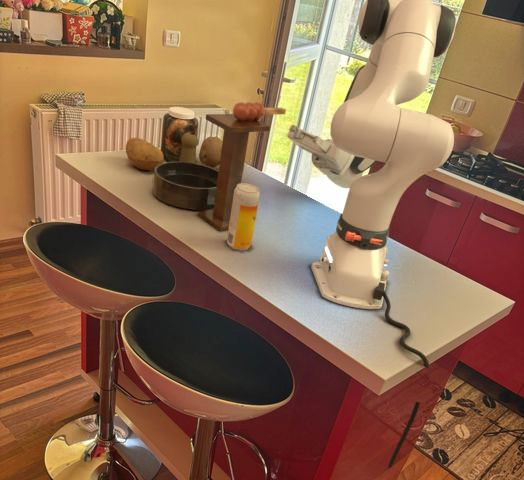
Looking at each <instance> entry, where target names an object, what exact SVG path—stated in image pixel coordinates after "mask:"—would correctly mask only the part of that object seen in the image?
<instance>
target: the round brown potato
mask: <svg viewBox="0 0 524 480" xmlns="http://www.w3.org/2000/svg"><path fill="white" fill-rule="evenodd" d="M222 142H223V139H221V138H220V137H218V136H208V137H206V138H204V140H203V141H202V143H201V146H200V149H199V152H198V160H199V161H200V163H202V165H205V166H208V167H211V168H214V169H215V168H216V167H219V165H220V157H221V150H222Z"/></svg>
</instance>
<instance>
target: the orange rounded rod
mask: <svg viewBox="0 0 524 480" xmlns="http://www.w3.org/2000/svg"><path fill="white" fill-rule="evenodd" d="M286 111H287V109H286V108H284V107H265V106H264V105H263V104H262V103H261V102H250V101H249V102H242V101H241V102H237V103H235V104H234V106H233V107H232V114H233V115H234V117H235V118H236V119H237V120H240V121H243V120H245V119H246V120H253V119H254V120H258V121H260V120H262V119H263V118H264V116H267V115H268V116H269V115H270V116H271V115H273V116H274V115H275V116H276V115H286Z"/></svg>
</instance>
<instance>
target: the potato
mask: <svg viewBox="0 0 524 480" xmlns="http://www.w3.org/2000/svg"><path fill="white" fill-rule="evenodd" d="M125 153H126V154H125V155H126V157H127V159H128V161H129V162H130V163H131V164H132V165H133V166H135V167H136V168H138V169H139V170H143V171H151V172H154V169H155V167H156V166H157V165H159V164H162V163H164V161H165V160H164V156H163V153H162V151H161V149H159V148H158V147H157V146H155V145H154V144H152V143H151V142H150V141H147V140H145V139H143V138H139V137H131V138H129V139H128V140H126V144H125Z"/></svg>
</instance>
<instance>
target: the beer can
mask: <svg viewBox="0 0 524 480" xmlns="http://www.w3.org/2000/svg"><path fill="white" fill-rule="evenodd" d="M260 197H261V193H260V188H259V187H258V186H256V185H254V184H251V183H245V182H243V183H242V182H241V184H238V185H237V187H236V188H235V190H234V196H233V202H232V209H231V216H230V222H229V229H228V230H227V235H226V236H227V237H226V243H227V245H228V247H229V248H230V249H232V250H235V251H247V250H248V249H249V248H250V247H251V246H252V241H253V236H254V229H255V224H256V220H257V219H256V218H257V215H258V213H257V212H258V207H259V202H260Z"/></svg>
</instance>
